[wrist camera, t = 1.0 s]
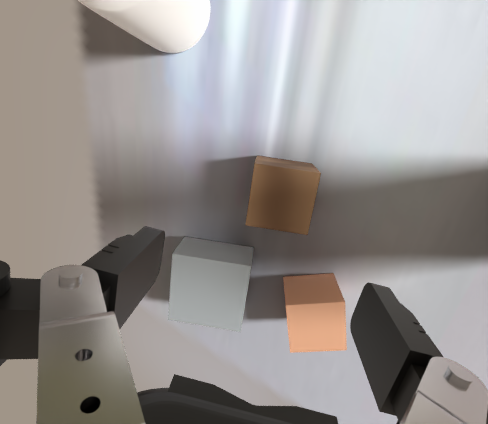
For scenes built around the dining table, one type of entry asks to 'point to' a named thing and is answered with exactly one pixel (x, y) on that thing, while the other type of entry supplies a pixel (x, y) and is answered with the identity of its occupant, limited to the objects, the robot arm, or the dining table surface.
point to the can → (157, 20)
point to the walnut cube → (282, 195)
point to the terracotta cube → (315, 313)
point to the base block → (209, 283)
